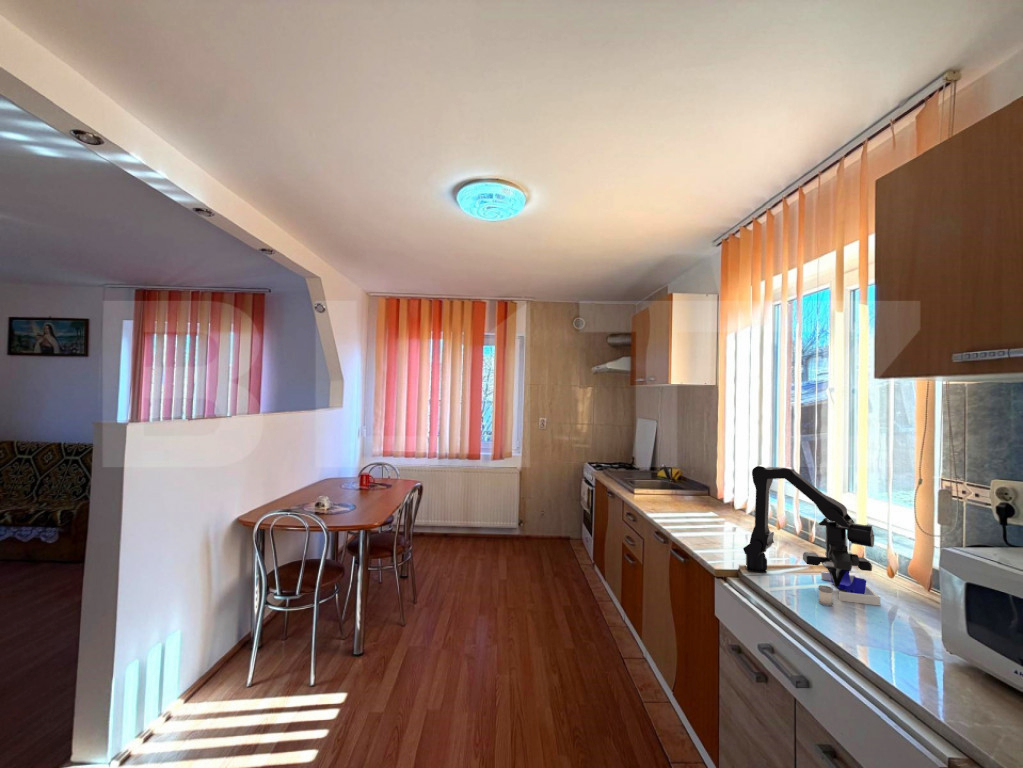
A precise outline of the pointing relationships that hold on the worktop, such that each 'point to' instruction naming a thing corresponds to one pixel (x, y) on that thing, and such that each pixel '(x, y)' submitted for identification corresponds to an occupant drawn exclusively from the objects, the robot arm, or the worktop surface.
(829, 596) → the grey cylinder
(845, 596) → the parts tray
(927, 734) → the worktop surface
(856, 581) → the cable clip
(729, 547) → the worktop surface
